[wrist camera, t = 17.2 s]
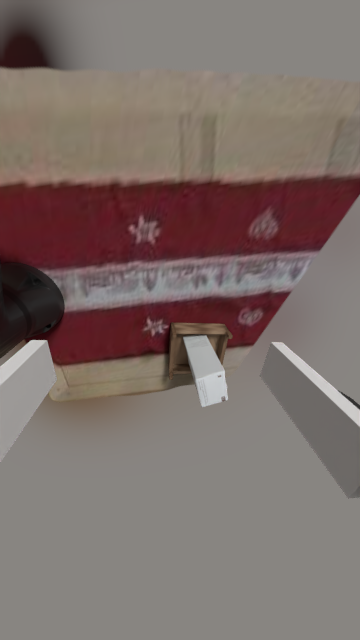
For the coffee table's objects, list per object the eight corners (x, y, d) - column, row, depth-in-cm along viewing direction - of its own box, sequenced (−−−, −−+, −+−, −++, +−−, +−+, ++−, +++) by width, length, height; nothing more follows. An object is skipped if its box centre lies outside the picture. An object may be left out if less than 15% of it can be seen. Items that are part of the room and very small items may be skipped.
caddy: (168, 364, 51) (169, 379, 45) (170, 322, 45) (172, 334, 40) (216, 363, 53) (222, 378, 47) (223, 323, 47) (232, 335, 42)
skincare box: (182, 336, 46) (192, 377, 33) (205, 330, 46) (225, 369, 33) (188, 362, 50) (200, 409, 37) (210, 356, 50) (229, 401, 37)
